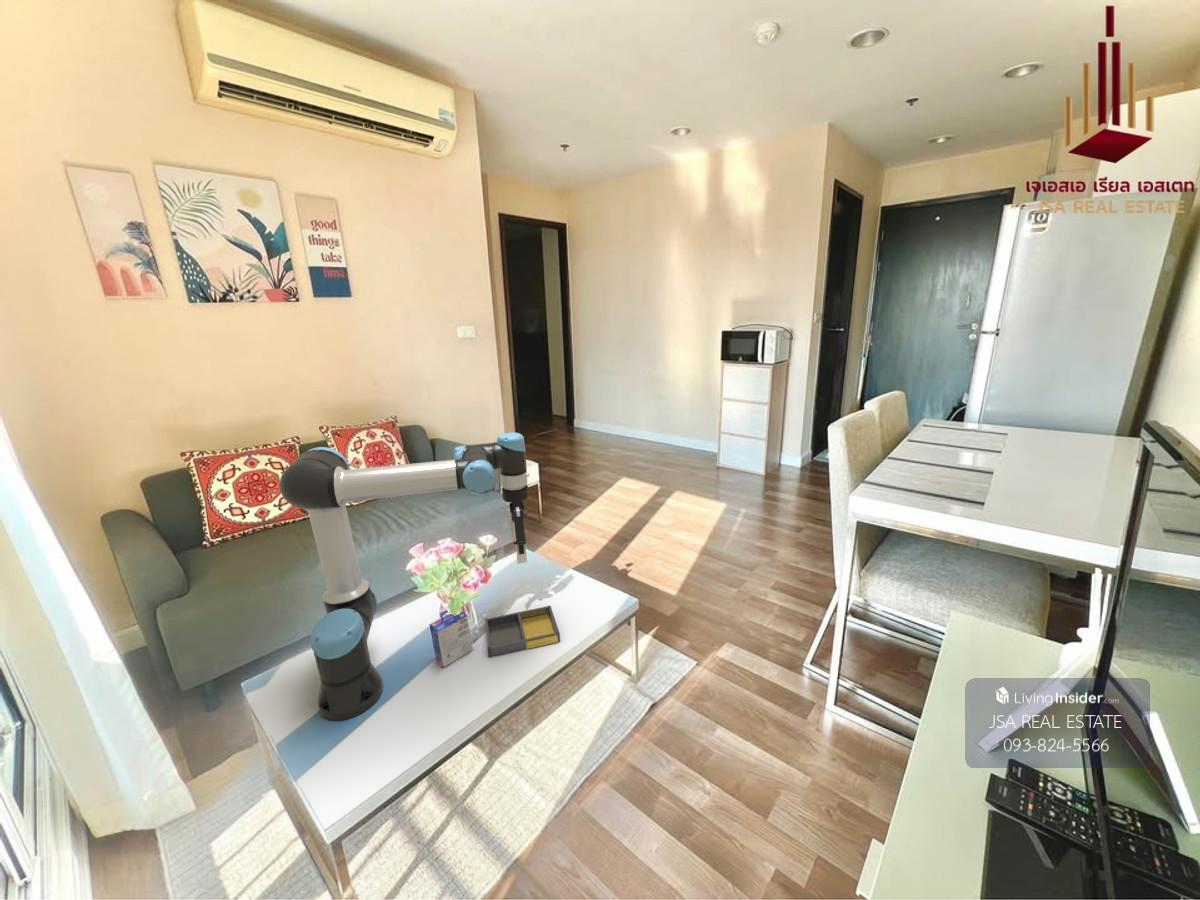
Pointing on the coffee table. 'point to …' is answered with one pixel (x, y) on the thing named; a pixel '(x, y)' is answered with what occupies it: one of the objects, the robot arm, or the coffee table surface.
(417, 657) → the coffee table surface
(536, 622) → the tray
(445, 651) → the ink cartridge box
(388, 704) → the coffee table surface
